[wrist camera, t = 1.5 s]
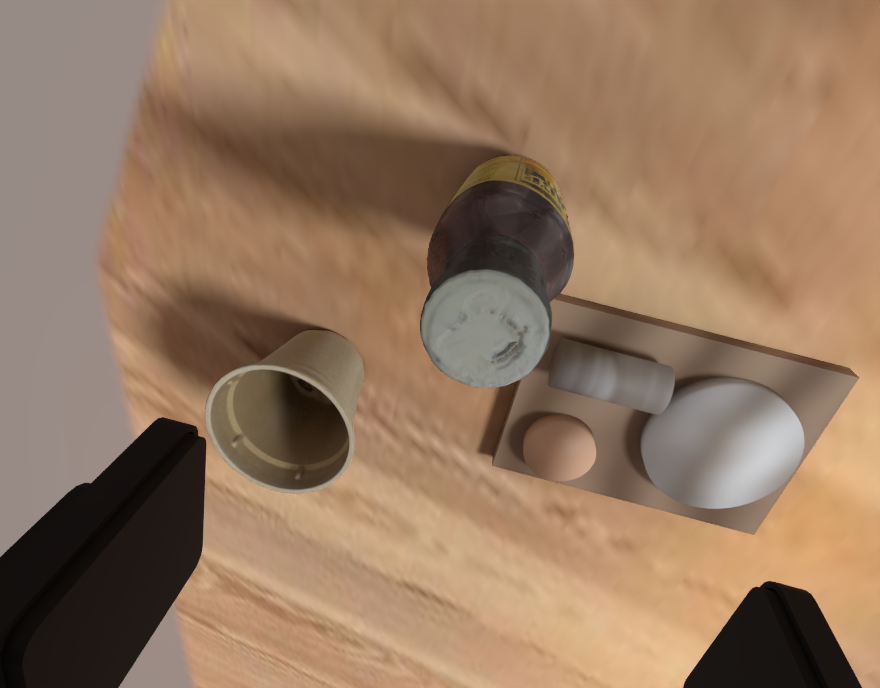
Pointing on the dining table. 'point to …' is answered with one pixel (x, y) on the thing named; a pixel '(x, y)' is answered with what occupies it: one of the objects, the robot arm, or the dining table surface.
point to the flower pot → (290, 414)
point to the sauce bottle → (496, 273)
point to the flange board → (667, 414)
